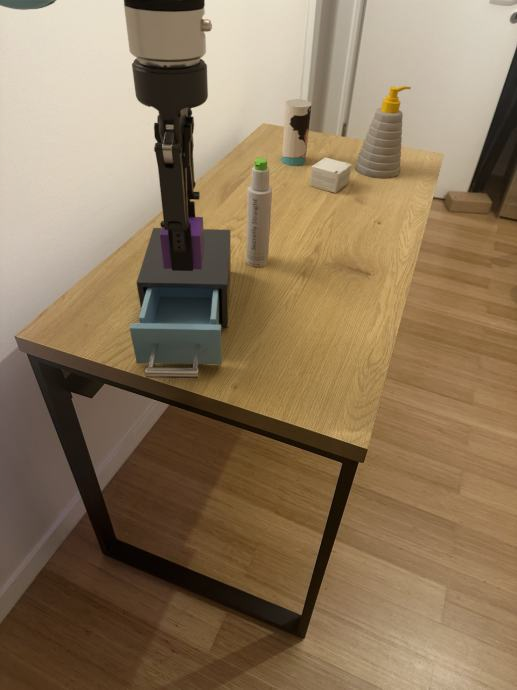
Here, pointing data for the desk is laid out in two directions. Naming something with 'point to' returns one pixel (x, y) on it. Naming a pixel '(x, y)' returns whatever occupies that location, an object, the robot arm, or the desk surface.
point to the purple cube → (197, 244)
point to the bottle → (258, 215)
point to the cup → (296, 131)
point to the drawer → (178, 330)
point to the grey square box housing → (209, 276)
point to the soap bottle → (383, 140)
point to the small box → (330, 175)
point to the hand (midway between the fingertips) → (184, 257)
